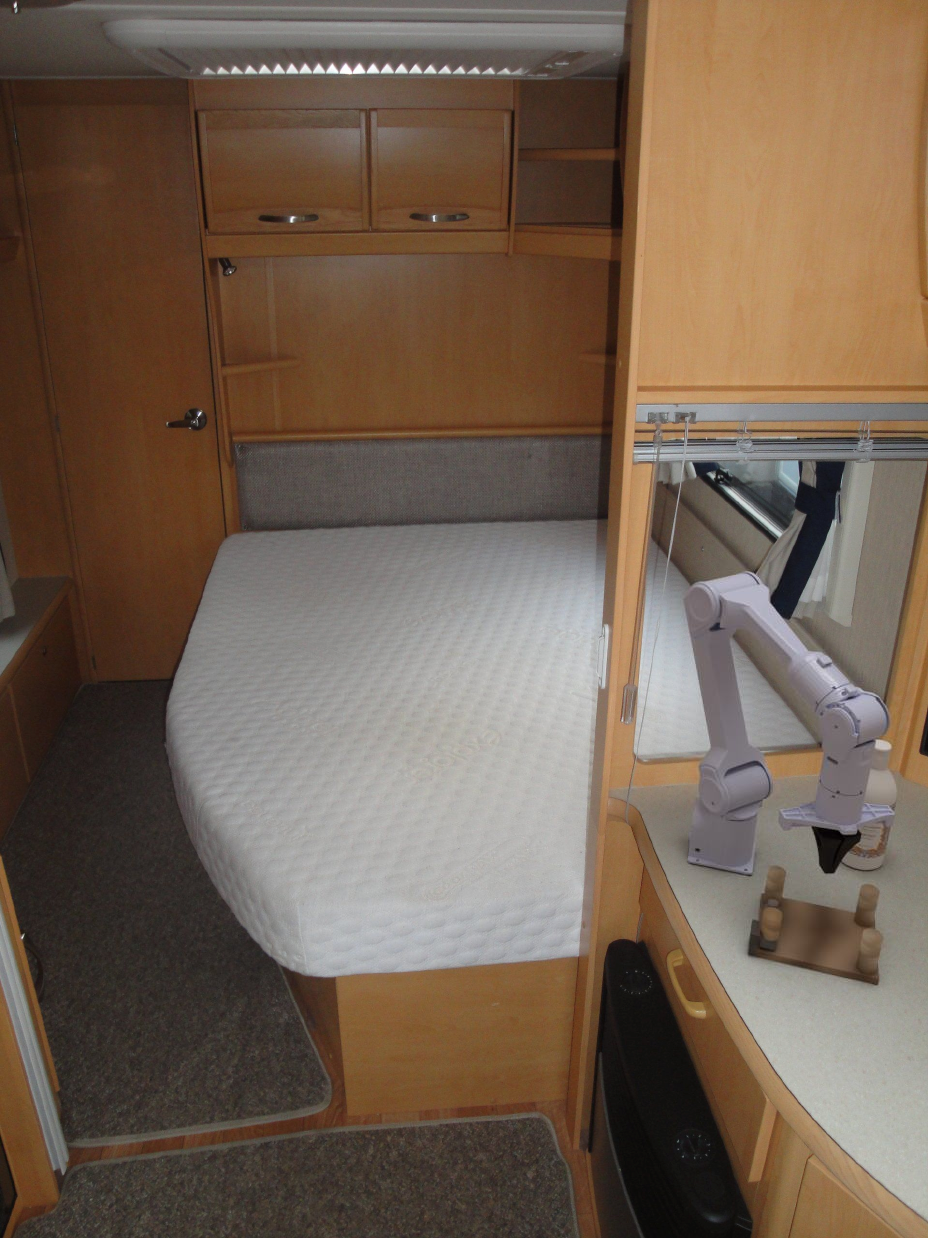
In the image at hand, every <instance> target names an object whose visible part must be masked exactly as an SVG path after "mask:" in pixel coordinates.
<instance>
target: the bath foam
mask: <svg viewBox="0 0 928 1238" xmlns="http://www.w3.org/2000/svg"><path fill="white" fill-rule="evenodd" d="M875 740H876V744H875V749H874V754H873V759H872V764H871V769H870V774H869V779H868V784H867V789H866V794H865V799H864V803H867V804H873V805H888V806H889V807H890V808H891V809H892V811H893V812H894V813H895V808H896V805H897V801H898V799H897V798H898V788H897V783H896V780H895V778H894V776H893V774H892V773H891V771H890V769H889V764H890V758H891V755H892V750H893V748H892V747H893V746H892V744H891V743H889V742H888V741H886V740H884V739H883V740H882V739H875ZM891 827H892V826H884V825H883V823H879V824H869V825H866V826H863V827H860V828H858V830H859V831H860V832H861V840H860V842H859V843H857V844H856V845H855V846H854V847H852V848H851V849H850V850H849V851H848V853H847V854H846V855H845V856H844V858H843V859H842V861H841V863H844V864H845V865H847V866H848V867H851V868H854V869H856V870H862V871H872V870H875V869H877V868H880V867H881V866H882V865H883V863H884V860H885V855H886V851H887V846H888V841H889V838H890V833H891Z"/></svg>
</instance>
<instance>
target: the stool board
mask: <svg viewBox="0 0 928 1238" xmlns="http://www.w3.org/2000/svg"><path fill="white" fill-rule="evenodd" d="M786 875H787V871H786V870H785V869H784V867H781V866H779V865H771V866H769V867H768V868H767V874H766V881H765V886H764V892H761V895H760V904H759V915H758V920H757V919H754V918H753V919H752V920H751V927H750V932H749V938H748V939H749V940H748V948H747V949H748V950H747V955H748V956H750V957H756V958H760V959H765V960H769V961H773V962H777V963H782V964H786V965H790V966H794V967H798V968H802V969H808V970H812V971H816V972H819V973H820V972H821V973H826V974H830V975H834V976H837V977H844V978H847V979H852V980H855V981H861V982H865V983H868V984H873V985H876V986H879V982H880V973H879V970H880V969H879V961H880V960H879V958H880V955H881V950H882V947H883V942H884V935H883V933H882V932H881V931H880V930H877V928H876V911H877V907H878V902H879V897H880V894H881V893H880V889H879V888H878V887H877V886H875V885H873V884H870V883H869V884H868V883H864V884H862V885H861V886H860V888H859V894H858V897H857V902H856V909H855V912H854V911H850V910H845V909H840V908H835V907H831V906H826V905H820V904H817V903H811V902H808V901H807V902H806V901H802V900H797V899H793V898H788V897H783V894H784V888H785V881H786V877H787V876H786ZM769 899H775V900H777V901H778V902H779V904H778V906H779V907H780V911H781V912H782V915H783V916H782V922H781V928H780V934H779V938H778V939H777V944H776V951H774V950H770V949H766V948H762V947H760V940H761V934H760V930H761V924H762V917H763V911H764V909H765V903H766V904H768V900H769Z"/></svg>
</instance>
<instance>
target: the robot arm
mask: <svg viewBox="0 0 928 1238" xmlns="http://www.w3.org/2000/svg"><path fill="white" fill-rule="evenodd" d="M683 605H684V610H685V615H686V616H685V617H686V621H687V626H688V627H687V628H688V632H689V636H690V643H691V648H692V653H693V657H694V663H695V668H696V673H697V674H696V675H697V680H698V685H699V691H700V695H701V700H702V706H703V712H704V717H705V722H706V729H707V733H708V734H707V735H708V738H709V744H710V748H709V749H708V751H707V752H706V754H704V757H703V758H702V759H701V761H700V762H699V764H698V771H699V773H698V774H699V781H698V796H699V797H695V802H694V807H693V812H692V819H691V827H690V829H689V833H688V839H687V840H688V842H689V844H688V845H689V846H688V855H687V862H688V863H690V864H695V865H698V866H699V865H700V866H704V867H709V868H714V869H718V870H724V871H729V872H733V873H738V874H739V873H740V874H743V875H747V876H750V875H751V876H752V875H753V872H754V862H755V855H756V854H755V853H756V846H757V845H756V844H757V843H756V842H755V837H756V835H755V834H756V828H757V820H758V816H759V815H758V814H759V809H761V808H762V807H763V802H764V800H766V799H769V798H770V797H771V795H772V794H773V792H774V780H773V776H772V773H771V771H770V770H769V768H768V766H767V764H766V761H765V755H764V752H763V751H761V750H760V749H758V748H756V747H755V746H753V745H752V744H750V743H749V739H748V735H747V733H748V732H747V729H746V723H745V722H746V721H745V717H744V712H743V706H742V700H741V695H740V690H739V684H738V680H737V679H738V678H737V674H736V668H735V662H734V657H733V651H732V647H731V641H730V640H731V638H732V637H733V636H734V634H735V633H736V632H737V630H743V631H745V630H746V631H748V632H750V633H751V634H752V635H753V637H754V638H756V639H757V640H758V641H759V642H760V643H761V644H762V645H763V646H765V648H766V649H767V650H768V651H770V653H771V654H773V655H774V656H775V657H776V658H777V659H778V660H779V661H780V662H781V663H782V664H783V666H785V667H786V681H787V682H788V684H790V686H791V687H792V688H793V689H794V691H795V692H797V694H798V695H799V696H800V697H801V698H802V699H803V701H804V702H805V703H806V704H807V705H808V706H809V707H810V709H811V710H812V711H813V712H814V713H815V714H816V715H817V717H818V718H817V723H818V724H817V725H818V729H819V731H820V734H821V738H822V742H821V749H822V752H823V754H822V760H821V766H820V771H819V777H818V782H817V789H816V794H815V800H814V801H810V802H808V803H805V804H801V805H798V806H794V807H791V808H790V807H789V808H783V809H779V813H778V817H777V818H778V819H777V822H778V824H779V827H781V829H782V831H791V829H792V828H797V827H798V828H800V827H803V828H804V827H811V830H812V832H813V836H814V838H815V843H816V848H817V854H818V855H817V856H818V865H819V867H820V868H821V870H822V872H823V874H825V875H830V874H835V873H836V871H837V869H838V867H839V866H840V864H841V863H842V859H843V858H844V856H845V855H846V854H847V853H848V851H849V850H850V849H851V848H852V847H854V846H855V845H856V844H857V843H859V842H860V840H861V832H860V831H859V830H858V828H860V827H863V826H866V825H869V824H879V823H883V825H884V826H891V827H893V826H894V822H895V816H896V813H895V811H894V812H893V811H892V809H891V808H890V807H889V806H888V805H873V804H867V803H864V799H865V794H866V789H867V784H868V779H869V774H870V769H871V764H872V759H873V754H874V749H875V744H876V740H877V739H879V738H880V737H883V736H884V735H885V734H886V733H887V732H888V731H889V728H890V726H891V716H890V712H889V709H888V708H887V705H886V704H885V702H884V701H883V700H882V698H881V697H880V696H879V695H877V694H876V693H874V692H871V691H865V690H863V689H862V688H861V687H858V686H854V685H853V684H852V683H851V681H850V680H849V679H848V678H847V677H846V676H845V675H844V674H843V673H842V672H841V671H840V670H839V669H838V667H836V665H835V664H834V663H833V662H834V661H833V660H832V659H831V658H830V657H829V656H828V655H825V654H824V653H823V652H821V651H810V650H808V648H807V647H806V646H805V645H804V644H803V642H802V641H801V640H800V638H799V637H798V636H797V635H796V633H795V632H794V631H793V630H792V628H791V627H790V626H789V624H787V622H786V621H785V620H784V618H783V617H782V616H781V614H780V613H779V612H778V611H777V610H776V607H774V606H773V604H772V603H771V592H770V588H769V587H767V586H766V585H765V584H764V583H763V582H762V580H761V578H760V577H759V576H758V575H756V573H754V572H751V571H749V570H748V571H741V572H739V573H737V574H732V575H728V576H723V577H720V578H715V579H711V580H706V581H698V582H697V581H696V582H695V583H693V584H692V585H691V586H690V587H689V589H688V591H687V592H686V594H685V595H684V597H683Z"/></svg>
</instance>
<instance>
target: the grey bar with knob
mask: <svg viewBox="0 0 928 1238" xmlns="http://www.w3.org/2000/svg"><path fill="white" fill-rule="evenodd" d="M778 904H779V902H778V901H777V900H775V899H769V900H768V904H766V903H765V909H764V911H763V917H762V924H761V930H760V934H761V940H760V947H762V948H766V949H770V950H774V951H776V944H777V939H778V938H779V934H780V928H781V922H782V916H783V915H782V912H781V911H780V907H779V906H778Z"/></svg>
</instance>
